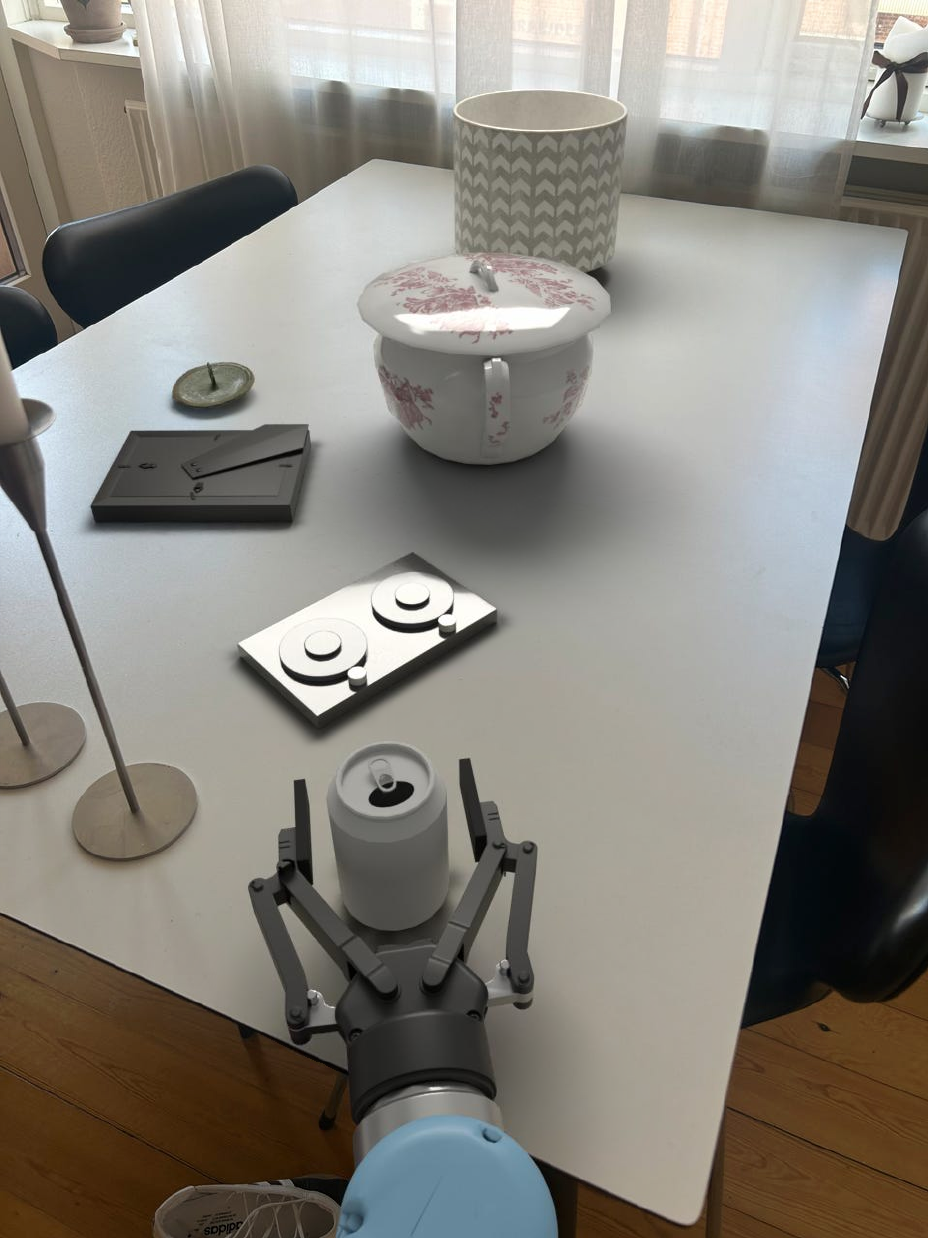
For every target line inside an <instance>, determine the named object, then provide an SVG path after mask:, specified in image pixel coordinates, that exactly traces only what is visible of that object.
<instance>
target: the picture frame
mask: <svg viewBox="0 0 928 1238" xmlns="http://www.w3.org/2000/svg"><path fill="white" fill-rule="evenodd" d="M309 427H310V426H309V423H264V424H262V425H260V426H259V427H255V428H254V429H194V430H193V429H187V430H186V429H182V430H181V429H176V430H175V429H173V430H171V429H170V430H168V429H167V430H166V429H165V430H150V429H149V430H130V431H129V433H128V435H127V437H126V438H125V440H124V441H123V444H122V446H121V448H120V450H119V452H118V453H117V455H116V457H115V459H114V461H113V462H112V465H111V467H110V468H109V469H108V472H107V474H106V475H105V477H104V479H103V481H102V483H101V485H100V486H99V488H98V491H97V492H96V494H95V496H94V498H93V500H92V502H91V504H90V505H89V507H90V510H91V513H92V517H93V520H94V523H240V522H241V523H245V522H246V523H259V522H260V523H262V522H263V523H264V522H265V523H267V522H268V523H270V522H271V523H273V522H277V523H279V522H281V523H283V522H284V523H285V522H287V523H288V522H289V523H290V522H291V523H292V522H293V521H294V517H295V513H296V509H297V505H298V500H299V496H300V492H301V488H302V484H303V480H304V476H305V472H306V467H307V463H308V459H309V455H310V452H311V447H312V441H311V434H310V429H309Z"/></svg>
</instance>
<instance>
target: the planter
mask: <svg viewBox="0 0 928 1238" xmlns="http://www.w3.org/2000/svg"><path fill="white" fill-rule="evenodd" d="M628 113H629V111H628V107H626V105H625V104H624V103H622V102H621V101H619V100H616V99H614V98H612V97H608V96H605V95H601V94H596V93H591V92H586V91H579V90H570V89H569V90H568V89H555V88H553V89H552V88H525V89H522V88H521V89H509V90H498V91H492V92H486V93H481V94H476V95H473V96H470V97H467V98H464V99H462V100H460V101H459V102H457V103H456V104H455V105H454V107H453V110H452V122H453V125H452V126H453V128H452V130H453V131H452V132H453V136H452V137H453V196H454V197H453V199H454V200H453V201H454V202H453V204H454V213H453V214H454V250H455V251H454V252H455V254H464V253H510V254H517V255H524V256H531V257H538V258H545V259H548V260H551V261H555V262H558V263H562V264H565V265H568V266H572V267H574V268H576V269H578V270H580V271H582V272H584V273H588V272H591V271H595V270H597V269H598V268H602V267H603V266H605V265H606V264H608V263H609V262H610V261H611V260H612V259H613V257H614V255H615V253H616V243H617V233H618V231H617V230H618V220H619V210H620V200H621V190H622V178H623V167H624V154H625V145H626V134H627V125H628Z"/></svg>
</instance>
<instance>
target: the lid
mask: <svg viewBox="0 0 928 1238" xmlns="http://www.w3.org/2000/svg"><path fill="white" fill-rule="evenodd" d="M254 383H255V375H254V372H253V371H252V370H251V369H250V368H249V367H247V366H245V365H243V364H241V363H237V362H234V361H233V362H232V361H219V362H212V363H210V362H209V361H208V362H206V364H203V365H200V366H196V367H193V368H190V369H188V370H187V371H185V372H184V373H182V374H181V376H179V377H178V378H177V379H176V380H175V383H174V384H173V386H172V392H171V394H172V396H171V397H172V399H173V401H174V402H175V403H176V404H178V405H181V406H183V407H185V408H189V409H191V408H192V409H212V408H218V407H221V406H225V405H228V404H230V403H232V402H235V401H236V400H238V399H240V398H241V397H243V396H244V395H245V394H247V393H248V392H249V391H250V390H251V389H252V387H253V386H254Z"/></svg>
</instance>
